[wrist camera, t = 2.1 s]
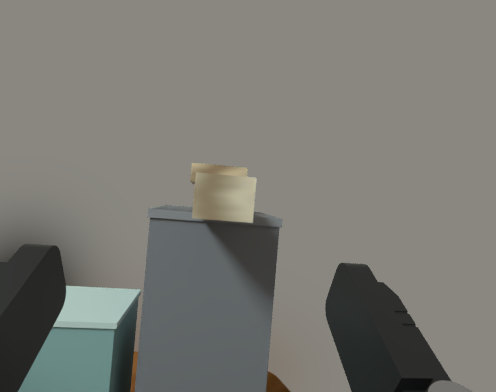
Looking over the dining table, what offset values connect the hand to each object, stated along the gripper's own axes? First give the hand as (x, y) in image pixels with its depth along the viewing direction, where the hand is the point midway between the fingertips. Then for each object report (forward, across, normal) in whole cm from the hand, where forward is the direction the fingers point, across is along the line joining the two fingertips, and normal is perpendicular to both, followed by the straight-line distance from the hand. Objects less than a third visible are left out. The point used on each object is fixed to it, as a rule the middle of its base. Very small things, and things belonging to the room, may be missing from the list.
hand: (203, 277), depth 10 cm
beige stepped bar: (+20, -1, +10) cm, 23 cm away
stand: (+9, -1, +40) cm, 41 cm away
